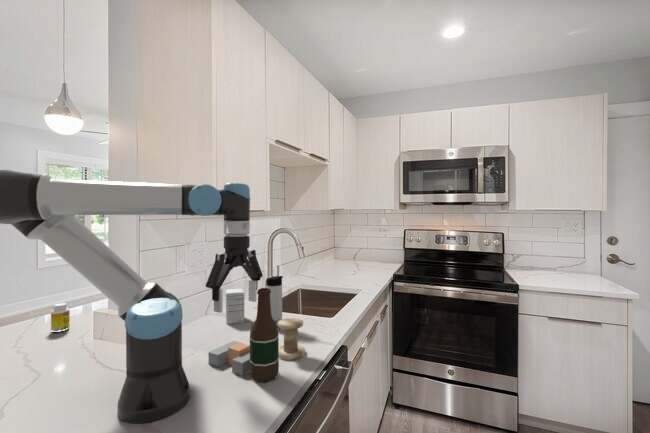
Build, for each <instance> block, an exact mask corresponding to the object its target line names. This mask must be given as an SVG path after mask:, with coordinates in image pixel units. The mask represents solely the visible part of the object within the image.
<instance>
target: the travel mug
mask: <svg viewBox="0 0 650 433" xmlns="http://www.w3.org/2000/svg"><path fill="white" fill-rule="evenodd" d="M283 278H284V276H283V275H276V276H270V277H268V278H266V280H265V282H266V283H265V288H268V289H270V290H271V293H270V303H271V314H272V318H273V320H274V321H275V322H276V325H277V327H278V321H280V320H282V319H283ZM278 329H280V328H279V327H278Z"/></svg>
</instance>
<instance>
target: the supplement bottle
mask: <svg viewBox="0 0 650 433" xmlns="http://www.w3.org/2000/svg"><path fill="white" fill-rule="evenodd" d="M68 327H69V328H70V308H68V303H66V302H62V303H57V304H53V310H51V312H50V331H51V330H53V331H58V330H63V329H66V328H68Z"/></svg>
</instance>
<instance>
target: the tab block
mask: <svg viewBox="0 0 650 433" xmlns="http://www.w3.org/2000/svg"><path fill="white" fill-rule="evenodd" d="M248 351H250V344H246V343H244V342H243V343H242V342H240V343H237V344H235V345H233V346H231V347H229V348H228V362H227V364H228V365H230V366H232V359H234V358H236V357H238V356H240V355H242V354H244V353H246V352H248Z"/></svg>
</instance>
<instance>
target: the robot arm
mask: <svg viewBox="0 0 650 433" xmlns="http://www.w3.org/2000/svg"><path fill="white" fill-rule="evenodd" d="M250 212H251V196H250V186H249V185H248V184H246V183H238V182H234V183H232V182H228V183H225V184H224V185H223V189H217V188H216V187H215V186H213V185H212V184H211V185H210V184H206V183H200V184H181V183H179V184H176V183H155V182H153V183H152V182H149V183H148V182H129V181H126V182H125V181H124V182H123V181H102V180H101V181H100V180H99V181H98V180H76V179H55V178H53V177H52V176H50V174H45V173H32V172H31V173H30V172H24V171H23V172H21V171H17V170H10V169H0V224H2V225H11V226H13V227H14V228H15V230H17V231H18V232H20V233H21V234H22V235H23V236H24V237H25V238H26V239H28V240H39V241H40V240H41V242H43V243H44V244H45V245H47V246H48V247H49V248H50V249H51V250H52V251H54V252H55V254H56V255H58V256H59V257H60V258H61V259H62V260H64V261H65V262H66V263H67V264H68V265H70V267H72V268H73V269H74V270H75V271H77V273H79V274H80V275H81V276H82V277H83V278H85V279H86V280H87V281H88V282H89V283H90V284H92V286H94V287H95V288H96V289H97V290H99V292H101V293H102V294H103V295H104V296H105V297H107V299H109V300H110V302H112V303H113V304H114V305H115V306H116V307H117V308H118V309H117V310H118V311H117V313H118V314H117V316H118V317H119V318H121V319H122V320H123V321H124V328H125V351H126V352H125V354H126V355H125V356H126V357H125V358H126V359H125V360H126V362H125V363H126V365H125V367H126V371H125V372H126V377H125V380H124V383H123V386H122V388H121V391H120V395H119V398H118V401H117V416H118V418H119V417H120V418H121V419H123V420H124V421H123V420H122V421H123V422H126V421H128V422H127V423H130V422H136V423H135V424H137V423H138V424H140V423H139V422H144V423H149V422H148V421H150V422H154V421H153V420H155V421H157V419H158V420H160V419H163V418H166V417H168V416H171V415H173V414H175V413H177V412H179V411H180V410H181V409H183V408H184V407H185V406H186V405H187V403H188V402H189V401H190V398H191V387H190V386H191V385H190V382H189V379H188V378H187V375H186V373H185V370H184V367H183V337H182V336H183V328H182V326H183V325H182V323H183V322H182V320H183V316H184V314H183V307H182V304H181V302H180V300H179V299H178V297H176V295H174V294H172V293H171V292H168V291H166V290H165V289H163V287H161V286H160V285H159V284H158V282H156V281H152V282H151V281H149V282H148V281H146V280H145V279H144V278H142V277H141V275H139V274H138V273H137V272H136V271H135V270H133V268H131V266H129V265H128V264H127V263H126V261H124V260H123V259H122V258H121V257H120V256H118V254H117V253H116V252H114V250H112V249H111V248H110V247H109V246H107V245H106V243H104V242H103V241H102V239H100V238H99V237H98V236H97V235H96V234H95V233H94V232H92V230H90V229H89V228H88V227H87V226H86V225H85V224H84V223H83V222H82V221H81V220H79V219H78V218H77V217H76V216H191V217H193V216H201V217H203V216H205V217H206V216H223V235H225V236H223V248H224V253H221V252H220V253H219V252H217V253H216V254H215V260H214V262H213V266H212V267H211V271H210V274H209V276H208V278H207V280H206V283H205V287H206V288H207V289H208V288H209V289H211V300H212V301H213V312H215V313H219V314H221V313H223V299H224V298H223V295H224V292H223V290H224V289H223V288H221V287H222V285H223V284H224V282H225V281H226V279H227V278H228V275H229V274H230V272H231V271H232V270H233V269H234V268H238V267H242V268H243V270H244V271H245V273H246V274H247V275H248V277H249V278H250V279H249V280H248V302H253V303H255V302H256V303H257V298H258V294H257V291H258V287H259V286H258V281H259V282H260V281H261V278H263V272H262V270H261V267H260V264H259V261H258V258H257V253H256V249H249V248H250V247H251V246H250V244H251V243H250V241H251V240H250V239H251V236H249V234H250V232H251V231H250V225H251V224H250V220H251V219H250V217H251V214H250ZM120 418H119V419H120ZM121 419H120V420H121Z"/></svg>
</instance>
